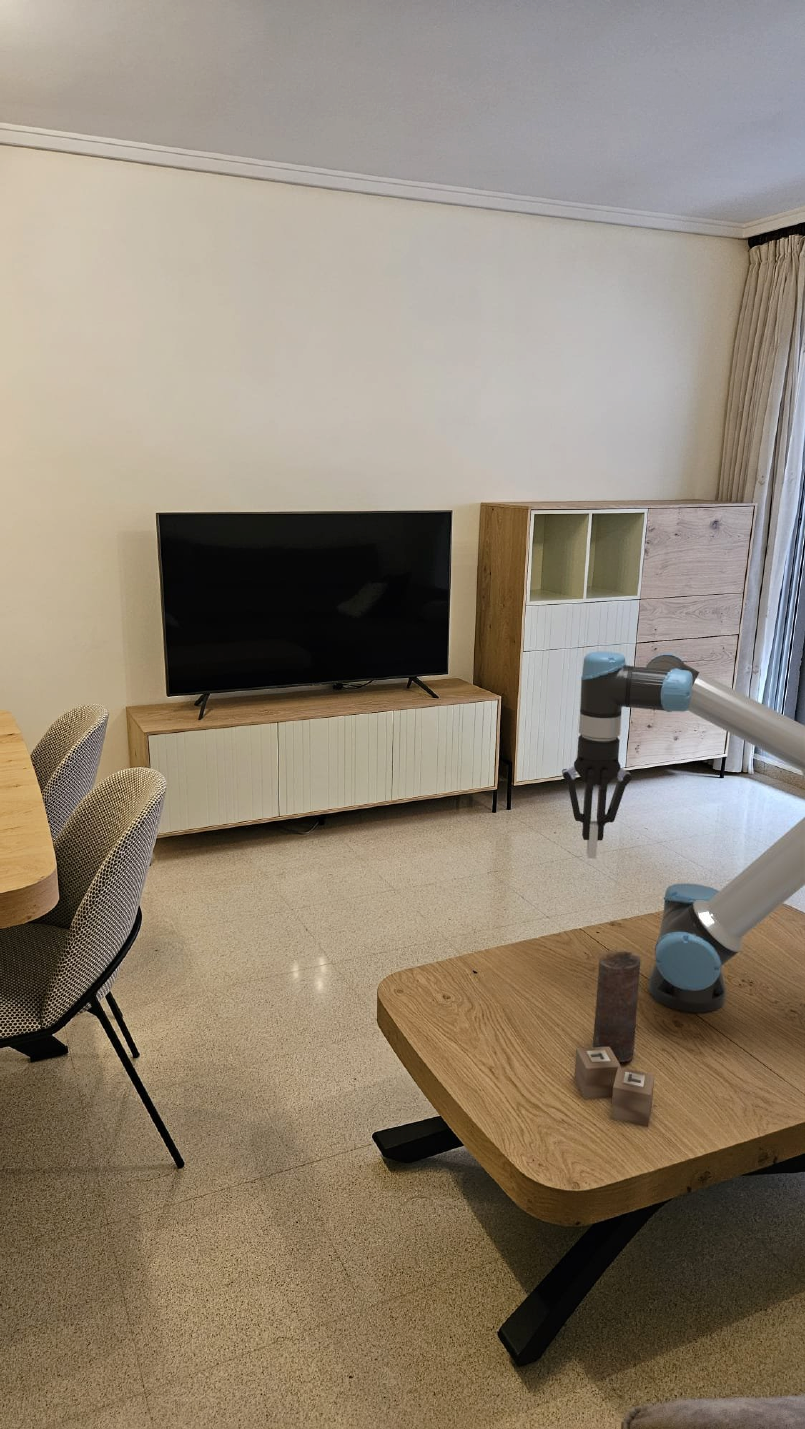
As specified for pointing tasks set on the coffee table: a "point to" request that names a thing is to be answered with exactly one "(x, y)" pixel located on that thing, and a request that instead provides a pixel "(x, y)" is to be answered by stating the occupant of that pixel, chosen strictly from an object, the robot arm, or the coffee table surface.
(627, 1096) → the block seven
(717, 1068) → the coffee table surface
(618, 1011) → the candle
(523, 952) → the coffee table surface
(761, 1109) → the coffee table surface
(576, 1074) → the block two
